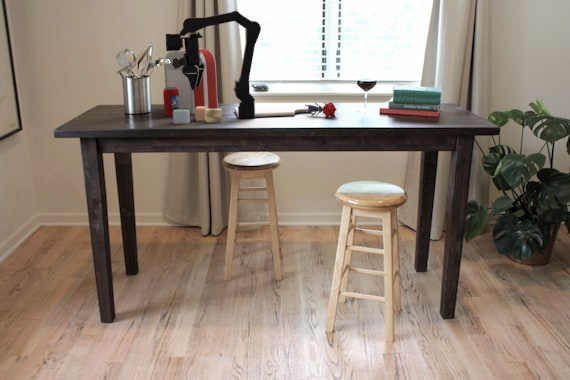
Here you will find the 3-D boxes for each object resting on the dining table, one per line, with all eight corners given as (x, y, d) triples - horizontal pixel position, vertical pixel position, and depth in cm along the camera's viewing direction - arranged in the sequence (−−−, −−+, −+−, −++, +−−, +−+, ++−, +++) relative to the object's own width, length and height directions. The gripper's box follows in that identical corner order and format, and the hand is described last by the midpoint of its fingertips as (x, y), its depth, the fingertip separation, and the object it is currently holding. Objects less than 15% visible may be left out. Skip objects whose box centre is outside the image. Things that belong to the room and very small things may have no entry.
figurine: (308, 112, 265) (341, 114, 259) (301, 119, 258) (335, 122, 252) (307, 98, 262) (341, 100, 256) (300, 105, 255) (334, 107, 249)
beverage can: (177, 117, 262) (175, 89, 258) (162, 116, 263) (160, 88, 260) (182, 114, 268) (181, 87, 265) (168, 114, 269) (166, 86, 266)
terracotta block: (198, 118, 260) (197, 106, 258) (207, 118, 259) (206, 106, 258) (195, 120, 254) (195, 108, 252) (205, 120, 254) (204, 108, 252)
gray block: (190, 121, 252) (189, 109, 251) (188, 123, 248) (187, 111, 247) (175, 121, 252) (174, 109, 251) (173, 123, 248) (172, 111, 247)
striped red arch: (219, 108, 284) (216, 48, 276) (194, 113, 269) (190, 51, 262) (191, 105, 292) (188, 47, 284) (166, 111, 278) (161, 50, 270)
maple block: (222, 120, 253) (221, 108, 252) (221, 122, 250) (220, 110, 248) (207, 120, 254) (207, 108, 252) (206, 122, 250) (205, 110, 248)
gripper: (177, 48, 257) (181, 86, 262) (167, 52, 239) (171, 92, 244) (203, 47, 256) (206, 85, 261) (195, 51, 239) (198, 91, 243)
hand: (195, 88), depth 252 cm, fingers open, 9 cm apart
